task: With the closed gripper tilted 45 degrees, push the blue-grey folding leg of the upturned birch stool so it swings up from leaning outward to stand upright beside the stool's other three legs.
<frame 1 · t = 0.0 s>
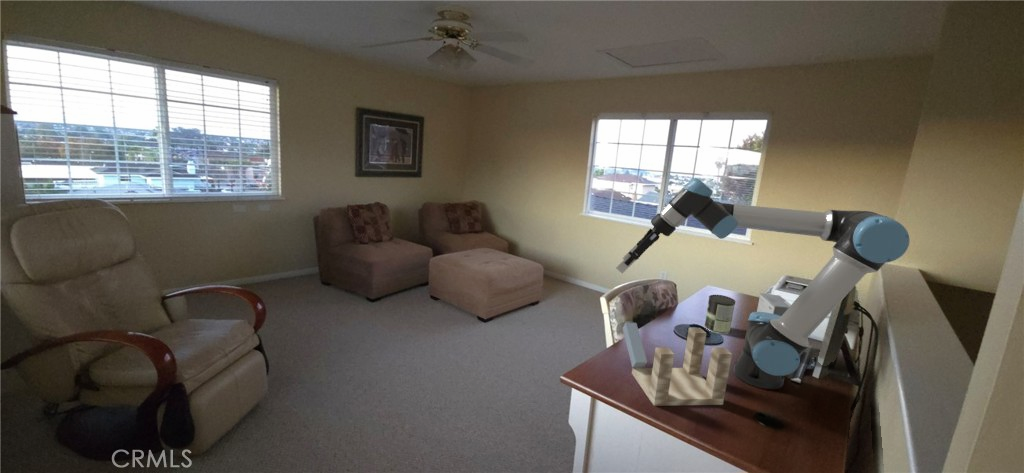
hand: (622, 265, 144), 36 cm above the table, tool tilted 35°, fingers open, 13 cm apart
hard drive box: (767, 347, 169), on the table
folding leg: (634, 343, 148), point 8 cm above the table, hinge at 55.0°
upturned stool: (674, 388, 136), on the table
coffee can: (716, 329, 183), on the table
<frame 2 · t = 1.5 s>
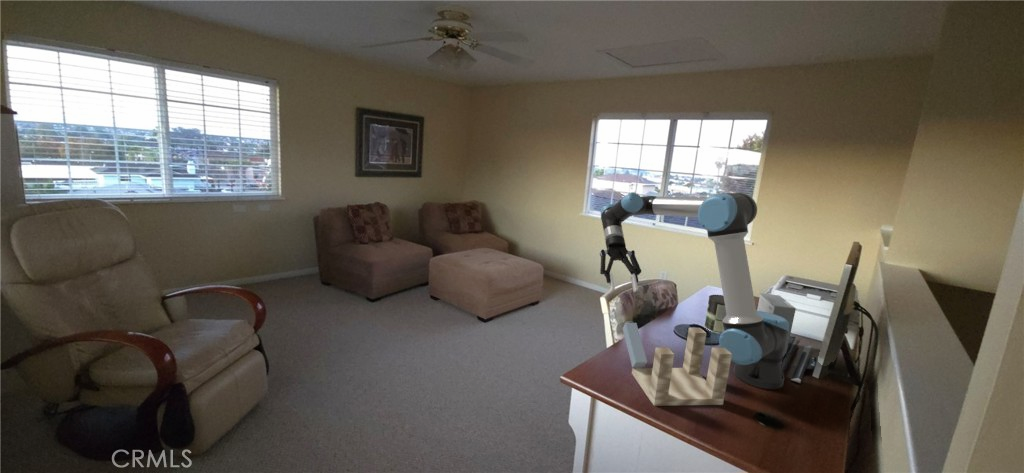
hand: (624, 290, 158), 23 cm above the table, tool tilted 45°, fingers open, 8 cm apart
nothing on the table moved.
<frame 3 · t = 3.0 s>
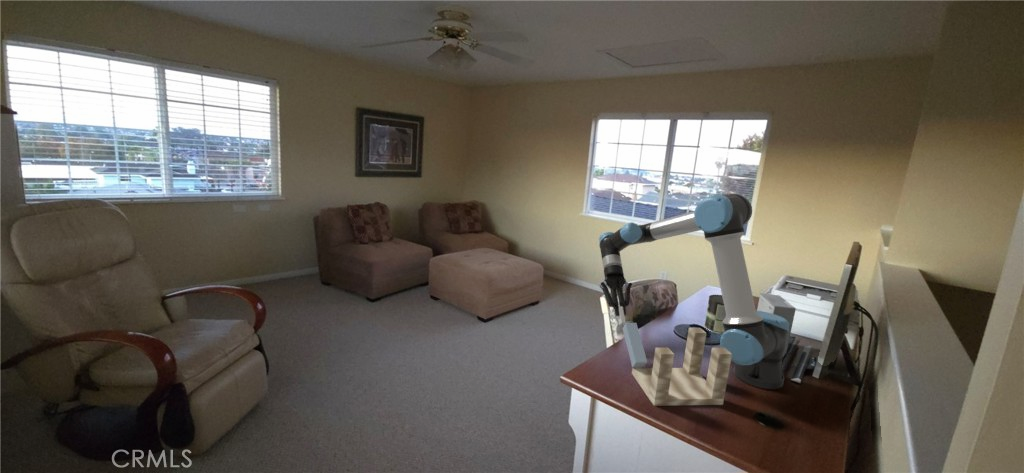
hand: (622, 323, 158), 10 cm above the table, tool tilted 45°, fingers closed
nothing on the table moved.
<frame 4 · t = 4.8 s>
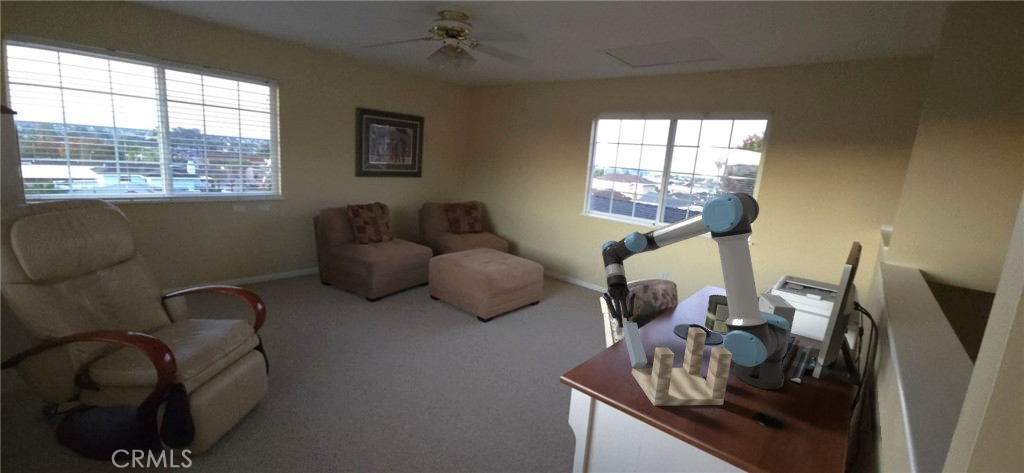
hand: (626, 336, 154), 8 cm above the table, tool tilted 45°, fingers closed
folding leg: (634, 343, 148), point 8 cm above the table, hinge at 54.7°, touching gripper
everything else where it was.
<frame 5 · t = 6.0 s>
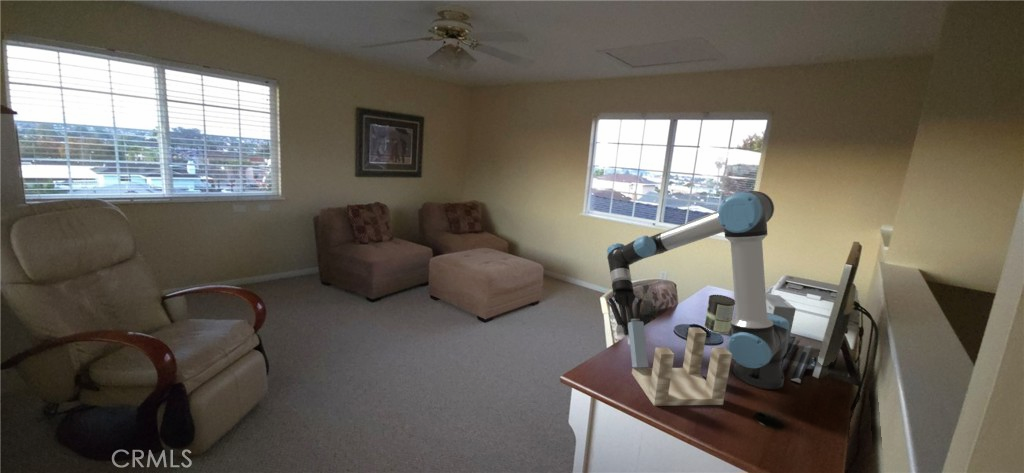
hand: (631, 344, 148), 8 cm above the table, tool tilted 45°, fingers closed
folding leg: (637, 342, 145), point 10 cm above the table, hinge at 32.6°, touching gripper
everything else where it was.
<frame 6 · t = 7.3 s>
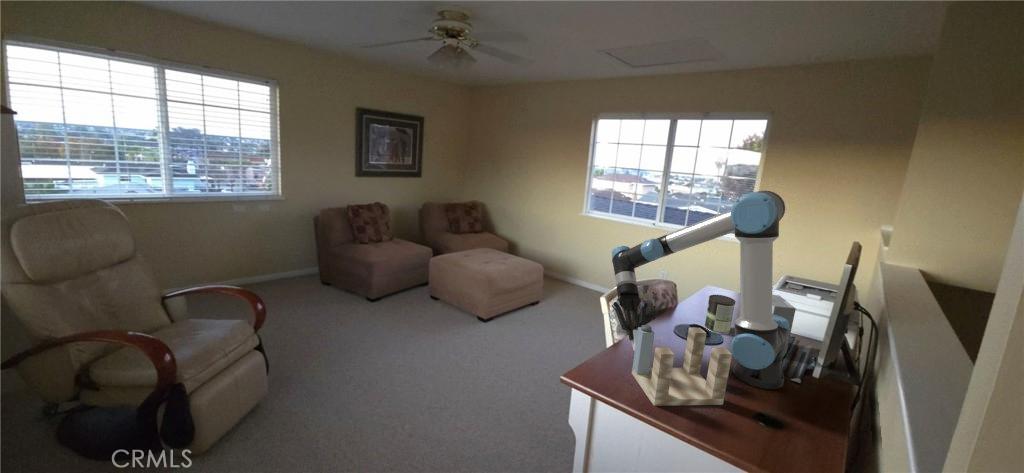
hand: (636, 349, 143), 8 cm above the table, tool tilted 45°, fingers closed
folding leg: (643, 349, 140), point 10 cm above the table, hinge at -1.2°, touching gripper
everything else where it was.
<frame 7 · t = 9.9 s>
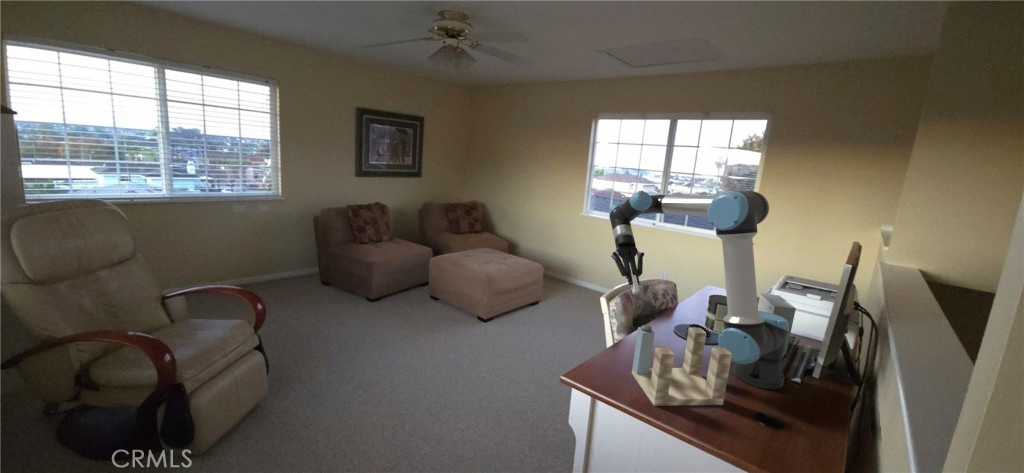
hand: (636, 292, 155), 23 cm above the table, tool tilted 45°, fingers closed
folding leg: (643, 349, 140), point 10 cm above the table, hinge at -1.2°
everything else where it was.
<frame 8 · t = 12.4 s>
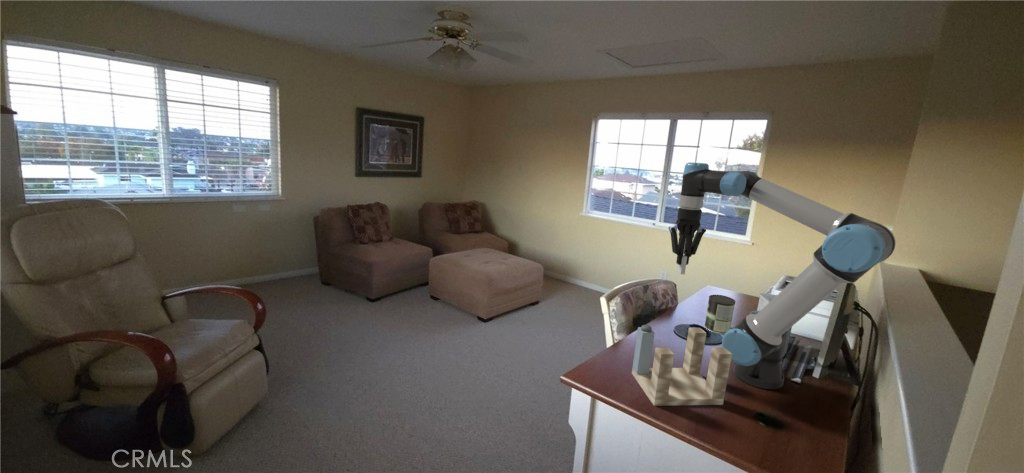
hand: (680, 273, 150), 32 cm above the table, tool pointing down, fingers closed
nothing on the table moved.
at the end: folding leg at -1° (first picture: +55°) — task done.
